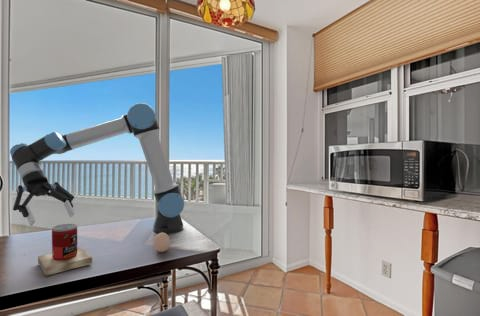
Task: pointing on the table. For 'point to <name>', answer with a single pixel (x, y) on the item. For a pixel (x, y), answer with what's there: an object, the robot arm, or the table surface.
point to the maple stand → (63, 262)
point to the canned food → (64, 241)
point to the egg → (161, 242)
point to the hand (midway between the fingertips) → (53, 219)
